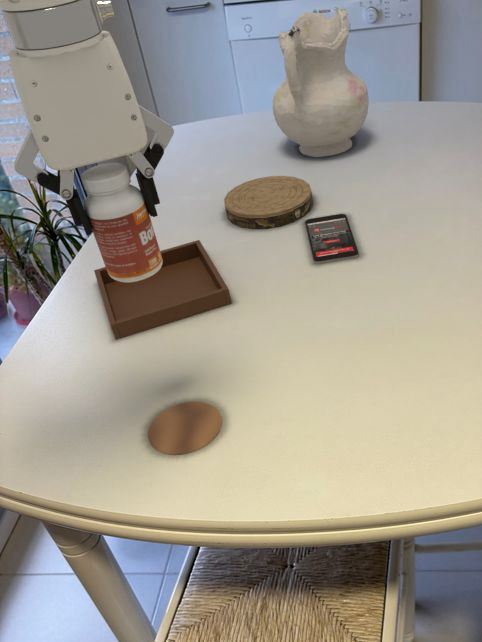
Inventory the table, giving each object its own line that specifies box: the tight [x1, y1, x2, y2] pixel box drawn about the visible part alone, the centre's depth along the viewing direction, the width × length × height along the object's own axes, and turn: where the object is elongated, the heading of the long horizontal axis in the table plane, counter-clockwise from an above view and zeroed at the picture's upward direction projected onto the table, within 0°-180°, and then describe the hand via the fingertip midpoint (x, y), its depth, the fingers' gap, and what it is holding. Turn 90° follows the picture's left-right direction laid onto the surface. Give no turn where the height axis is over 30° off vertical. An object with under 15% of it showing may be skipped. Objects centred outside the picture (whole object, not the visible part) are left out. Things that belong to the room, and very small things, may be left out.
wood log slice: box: [223, 175, 314, 230], centre depth 117 cm, size 16×16×3 cm
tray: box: [94, 239, 233, 341], centre depth 100 cm, size 18×18×3 cm
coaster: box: [147, 401, 223, 456], centre depth 78 cm, size 9×9×1 cm
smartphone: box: [304, 213, 360, 265], centre depth 107 cm, size 7×1×15 cm
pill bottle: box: [80, 162, 163, 282], centre depth 68 cm, size 6×6×11 cm
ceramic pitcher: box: [272, 6, 370, 158], centre depth 128 cm, size 22×20×25 cm
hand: (119, 219), depth 68 cm, fingers closed on pill bottle, 6 cm apart
